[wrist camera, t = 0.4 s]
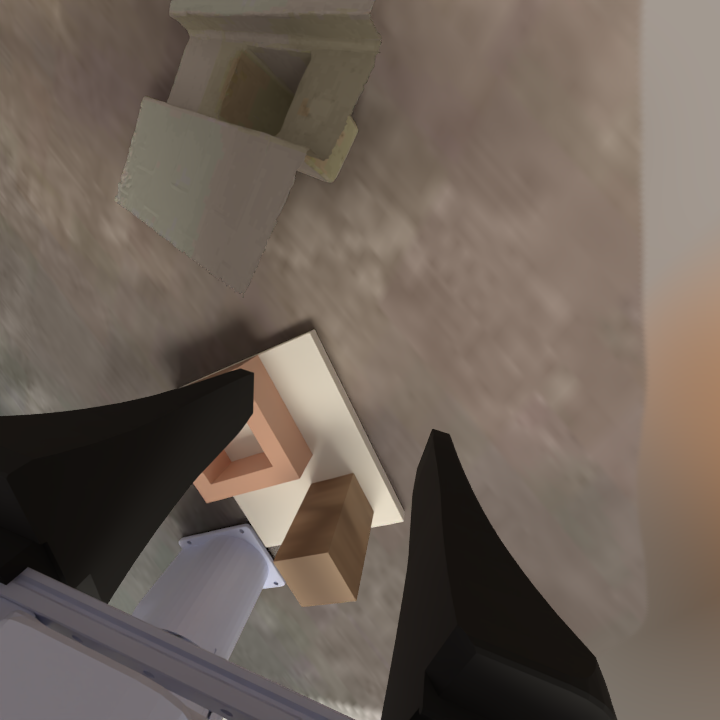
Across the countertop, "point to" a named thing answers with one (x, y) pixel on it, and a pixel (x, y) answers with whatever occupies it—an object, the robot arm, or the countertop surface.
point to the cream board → (312, 440)
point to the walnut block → (327, 543)
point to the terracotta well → (275, 437)
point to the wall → (247, 123)
